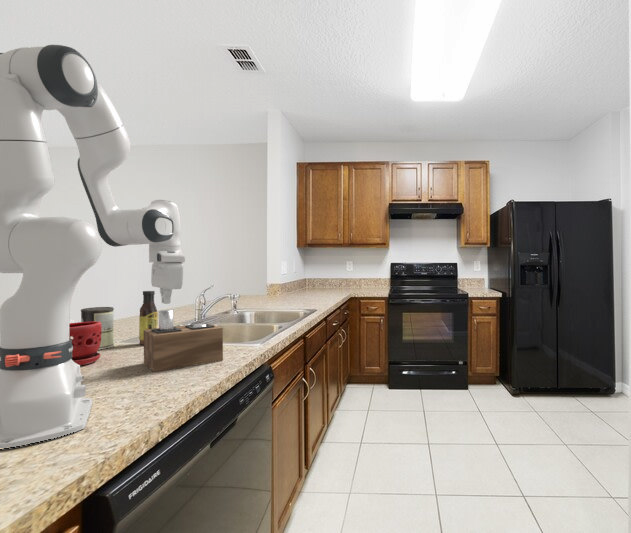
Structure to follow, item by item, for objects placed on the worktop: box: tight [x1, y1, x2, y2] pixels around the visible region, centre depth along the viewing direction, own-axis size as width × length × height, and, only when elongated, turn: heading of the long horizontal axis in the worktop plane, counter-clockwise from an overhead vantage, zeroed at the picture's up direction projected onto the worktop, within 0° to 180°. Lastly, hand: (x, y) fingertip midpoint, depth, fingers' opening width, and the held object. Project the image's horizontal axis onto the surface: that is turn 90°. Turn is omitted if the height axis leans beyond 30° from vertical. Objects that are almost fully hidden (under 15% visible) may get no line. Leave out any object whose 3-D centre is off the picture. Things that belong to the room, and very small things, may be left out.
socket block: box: [143, 322, 224, 373], centre depth 115 cm, size 12×20×10 cm, turn 127°
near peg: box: [158, 309, 175, 331], centre depth 112 cm, size 4×4×10 cm
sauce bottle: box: [138, 290, 159, 346], centre depth 142 cm, size 7×6×20 cm
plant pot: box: [69, 321, 102, 366], centre depth 115 cm, size 13×13×12 cm
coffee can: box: [80, 306, 115, 351], centre depth 136 cm, size 10×10×14 cm
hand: (166, 303), depth 112 cm, fingers closed
